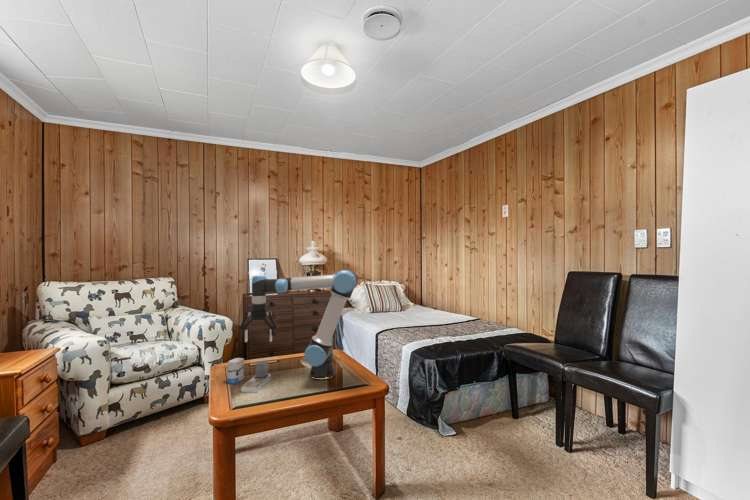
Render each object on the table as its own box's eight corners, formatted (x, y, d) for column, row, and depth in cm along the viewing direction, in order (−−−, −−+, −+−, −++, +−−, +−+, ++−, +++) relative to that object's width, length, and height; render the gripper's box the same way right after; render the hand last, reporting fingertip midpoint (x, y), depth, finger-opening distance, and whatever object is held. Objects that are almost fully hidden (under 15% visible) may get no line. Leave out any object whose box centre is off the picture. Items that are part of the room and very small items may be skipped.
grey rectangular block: (267, 379, 203) (267, 361, 203) (264, 382, 198) (264, 364, 198) (258, 379, 203) (259, 361, 204) (255, 382, 198) (255, 363, 199)
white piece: (271, 378, 205) (271, 373, 205) (256, 392, 183) (256, 387, 183) (257, 378, 205) (257, 373, 205) (241, 391, 183) (241, 386, 183)
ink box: (235, 384, 195) (235, 362, 195) (226, 383, 196) (227, 361, 196) (243, 379, 203) (244, 358, 203) (235, 378, 204) (236, 357, 204)
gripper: (282, 302, 206) (282, 339, 206) (238, 302, 205) (238, 340, 204) (280, 303, 199) (279, 342, 198) (233, 304, 198) (233, 343, 197)
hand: (258, 341), depth 201 cm, fingers open, 13 cm apart
